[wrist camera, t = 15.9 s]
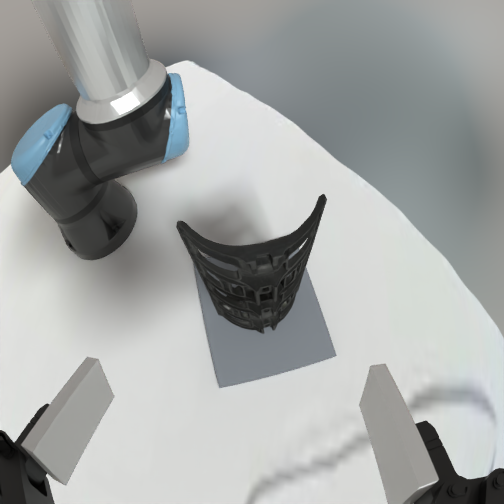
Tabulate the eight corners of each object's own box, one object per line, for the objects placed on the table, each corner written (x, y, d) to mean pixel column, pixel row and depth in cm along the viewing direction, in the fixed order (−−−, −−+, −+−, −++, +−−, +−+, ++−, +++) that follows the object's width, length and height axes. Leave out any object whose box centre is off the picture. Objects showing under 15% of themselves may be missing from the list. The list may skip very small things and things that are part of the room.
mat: (195, 264, 40) (193, 261, 40) (293, 239, 41) (294, 236, 40) (220, 387, 32) (219, 387, 31) (334, 356, 33) (336, 355, 32)
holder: (286, 265, 38) (296, 154, 21) (312, 312, 35) (353, 226, 17) (211, 298, 37) (160, 206, 19) (234, 349, 33) (192, 298, 16)
